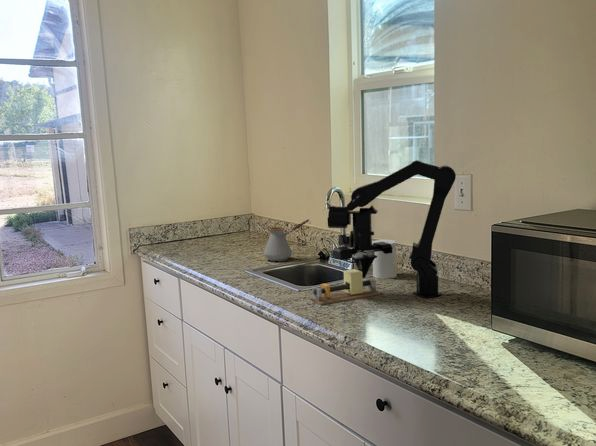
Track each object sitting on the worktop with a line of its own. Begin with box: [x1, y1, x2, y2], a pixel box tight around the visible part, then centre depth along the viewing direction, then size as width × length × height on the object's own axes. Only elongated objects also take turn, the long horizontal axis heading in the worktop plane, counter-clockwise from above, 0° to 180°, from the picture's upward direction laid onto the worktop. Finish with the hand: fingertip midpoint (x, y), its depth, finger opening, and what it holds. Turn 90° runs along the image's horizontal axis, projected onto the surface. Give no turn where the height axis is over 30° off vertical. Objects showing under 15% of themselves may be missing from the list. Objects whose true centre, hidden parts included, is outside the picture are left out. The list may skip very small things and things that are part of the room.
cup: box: [372, 239, 398, 280], centre depth 198 cm, size 8×8×12 cm
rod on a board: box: [307, 277, 382, 306], centre depth 174 cm, size 8×21×4 cm, turn 116°
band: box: [320, 283, 331, 297], centre depth 171 cm, size 3×1×3 cm, turn 26°
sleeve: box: [343, 268, 364, 295], centre depth 175 cm, size 4×4×7 cm
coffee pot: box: [263, 219, 312, 262], centre depth 233 cm, size 21×12×15 cm, turn 119°
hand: (363, 277), depth 177 cm, fingers closed
